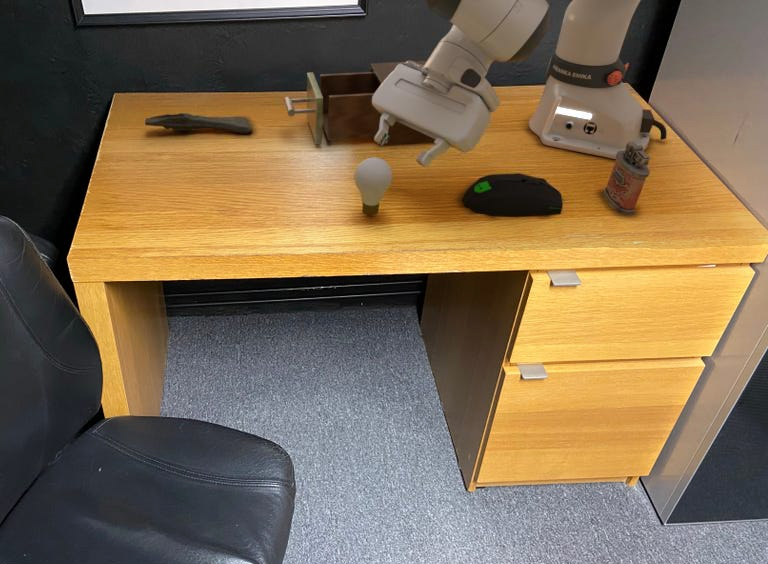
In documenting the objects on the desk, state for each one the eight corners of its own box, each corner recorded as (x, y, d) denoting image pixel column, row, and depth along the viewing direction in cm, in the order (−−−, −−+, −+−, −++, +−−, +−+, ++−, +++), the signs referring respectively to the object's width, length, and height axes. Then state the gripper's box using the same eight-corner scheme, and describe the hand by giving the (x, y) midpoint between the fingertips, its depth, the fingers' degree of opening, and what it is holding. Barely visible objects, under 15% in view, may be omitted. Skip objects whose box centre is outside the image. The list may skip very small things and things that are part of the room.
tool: (247, 124, 143) (248, 109, 141) (253, 138, 137) (254, 122, 135) (144, 123, 138) (143, 107, 137) (145, 137, 132) (145, 121, 131)
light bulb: (364, 228, 111) (369, 172, 105) (345, 211, 115) (348, 155, 108) (394, 219, 113) (401, 163, 107) (375, 203, 117) (380, 147, 110)
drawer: (290, 145, 131) (289, 99, 125) (282, 117, 140) (282, 73, 134) (395, 139, 133) (400, 93, 127) (381, 112, 142) (385, 68, 136)
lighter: (598, 191, 120) (617, 136, 113) (617, 190, 120) (637, 135, 113) (618, 215, 114) (639, 159, 107) (638, 214, 114) (660, 158, 107)
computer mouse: (454, 184, 122) (457, 163, 119) (545, 180, 122) (551, 159, 120) (471, 219, 113) (475, 197, 111) (569, 214, 114) (576, 193, 111)
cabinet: (380, 146, 133) (385, 91, 125) (366, 116, 142) (370, 63, 135) (464, 140, 134) (474, 86, 127) (444, 111, 144) (453, 59, 137)
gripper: (394, 46, 111) (345, 121, 113) (495, 84, 99) (438, 168, 101) (411, 68, 116) (364, 140, 118) (509, 107, 104) (454, 186, 106)
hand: (399, 153), depth 109 cm, fingers open, 8 cm apart
